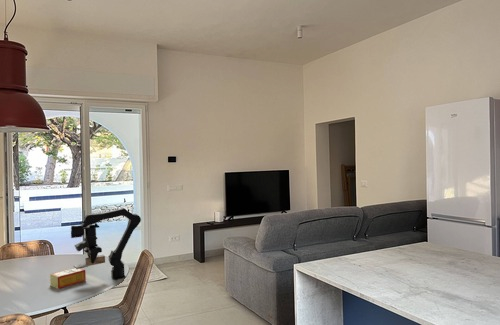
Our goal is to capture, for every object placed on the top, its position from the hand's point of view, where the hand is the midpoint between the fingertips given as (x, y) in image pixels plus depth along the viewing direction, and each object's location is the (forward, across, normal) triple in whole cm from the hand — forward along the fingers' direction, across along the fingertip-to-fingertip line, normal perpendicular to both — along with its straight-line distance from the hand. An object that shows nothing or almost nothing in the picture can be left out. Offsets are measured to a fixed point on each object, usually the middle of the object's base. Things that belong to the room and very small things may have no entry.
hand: (91, 262), depth 214 cm
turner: (+1, 0, -1) cm, 1 cm away
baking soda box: (+8, -6, -19) cm, 21 cm away
